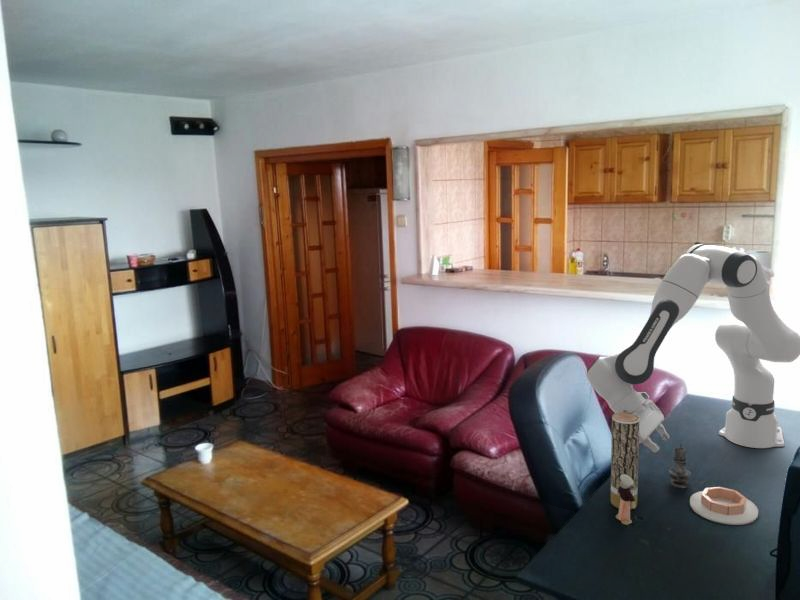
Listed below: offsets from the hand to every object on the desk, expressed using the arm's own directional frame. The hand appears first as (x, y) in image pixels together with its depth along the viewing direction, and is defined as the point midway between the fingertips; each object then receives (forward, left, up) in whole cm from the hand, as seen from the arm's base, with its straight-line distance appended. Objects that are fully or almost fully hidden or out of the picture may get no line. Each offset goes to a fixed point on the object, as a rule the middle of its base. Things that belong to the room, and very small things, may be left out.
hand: (662, 445), depth 181 cm
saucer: (+8, +18, -11) cm, 22 cm away
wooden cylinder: (+20, -4, -11) cm, 23 cm away
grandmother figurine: (+28, -1, -11) cm, 30 cm away
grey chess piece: (0, +5, -11) cm, 12 cm away
